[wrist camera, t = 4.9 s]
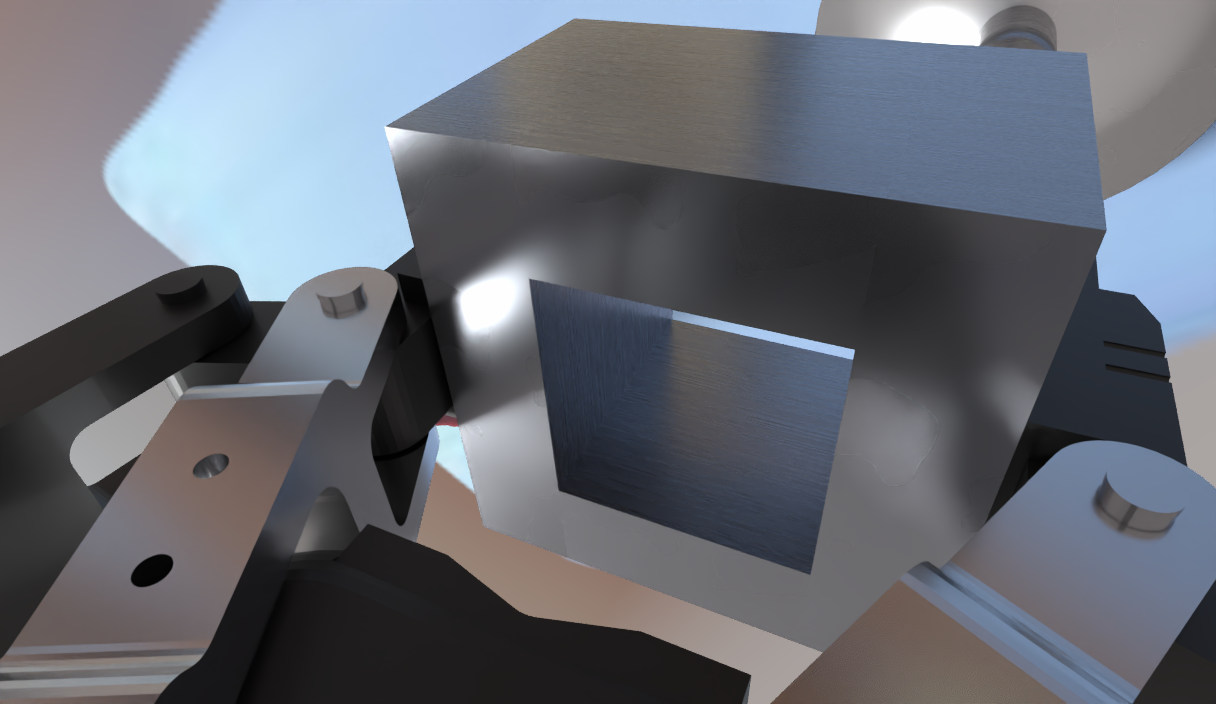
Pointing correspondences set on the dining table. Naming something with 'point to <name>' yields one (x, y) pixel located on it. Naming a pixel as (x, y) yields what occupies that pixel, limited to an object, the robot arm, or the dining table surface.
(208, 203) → the dining table surface
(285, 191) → the dining table surface
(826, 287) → the square socket block
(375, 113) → the dining table surface
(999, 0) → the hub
